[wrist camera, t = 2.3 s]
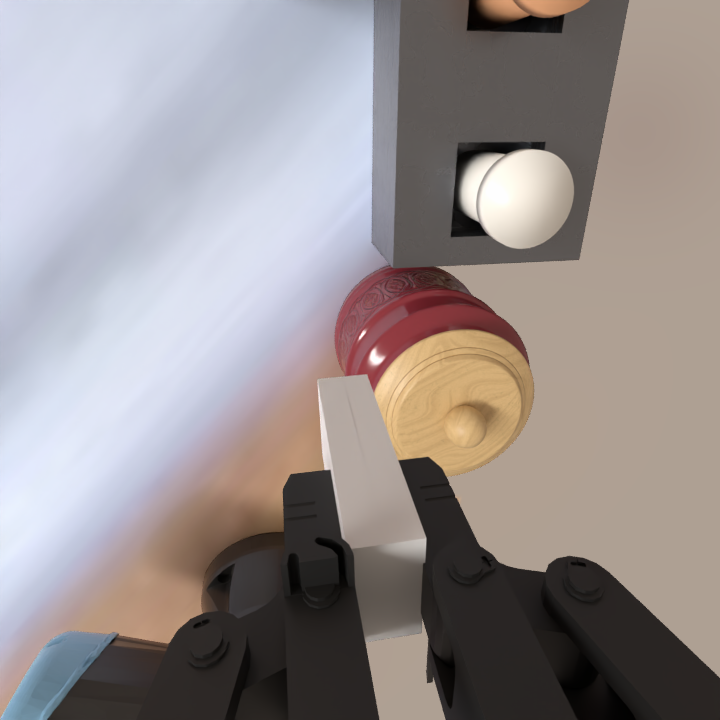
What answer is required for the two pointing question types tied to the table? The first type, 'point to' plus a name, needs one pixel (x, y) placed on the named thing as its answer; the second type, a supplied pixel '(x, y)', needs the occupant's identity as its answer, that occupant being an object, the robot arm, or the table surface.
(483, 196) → the white knob
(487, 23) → the tan round-topped peg
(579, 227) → the block
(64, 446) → the table surface
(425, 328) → the canister
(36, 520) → the table surface
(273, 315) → the table surface
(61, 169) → the table surface
